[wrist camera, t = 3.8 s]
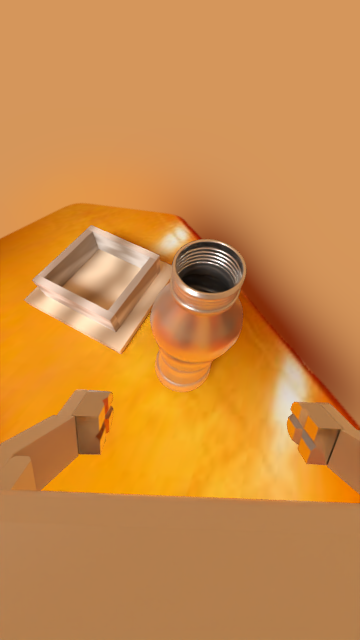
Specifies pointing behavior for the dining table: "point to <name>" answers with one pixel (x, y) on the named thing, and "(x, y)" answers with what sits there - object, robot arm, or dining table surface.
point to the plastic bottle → (197, 312)
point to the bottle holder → (101, 287)
